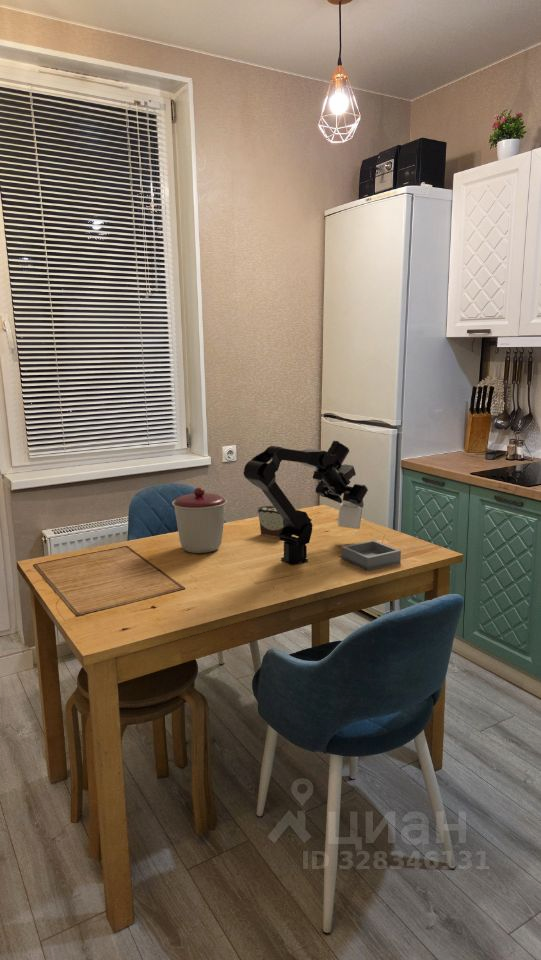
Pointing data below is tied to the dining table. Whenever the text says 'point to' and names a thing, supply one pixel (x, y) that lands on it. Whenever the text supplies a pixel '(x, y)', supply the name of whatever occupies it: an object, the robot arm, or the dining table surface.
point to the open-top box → (371, 555)
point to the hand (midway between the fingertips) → (351, 504)
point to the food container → (270, 521)
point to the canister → (200, 520)
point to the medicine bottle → (349, 514)
